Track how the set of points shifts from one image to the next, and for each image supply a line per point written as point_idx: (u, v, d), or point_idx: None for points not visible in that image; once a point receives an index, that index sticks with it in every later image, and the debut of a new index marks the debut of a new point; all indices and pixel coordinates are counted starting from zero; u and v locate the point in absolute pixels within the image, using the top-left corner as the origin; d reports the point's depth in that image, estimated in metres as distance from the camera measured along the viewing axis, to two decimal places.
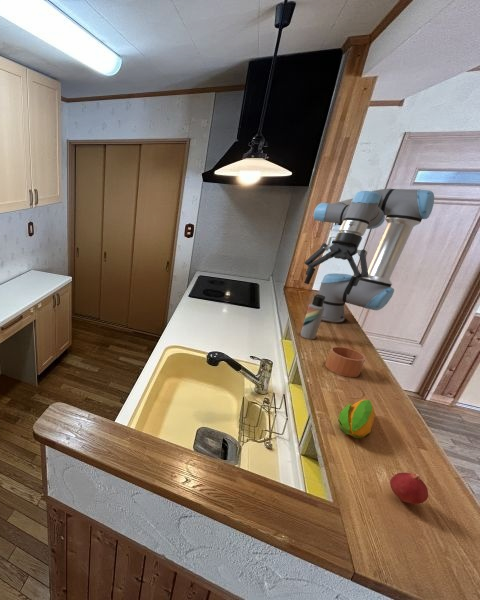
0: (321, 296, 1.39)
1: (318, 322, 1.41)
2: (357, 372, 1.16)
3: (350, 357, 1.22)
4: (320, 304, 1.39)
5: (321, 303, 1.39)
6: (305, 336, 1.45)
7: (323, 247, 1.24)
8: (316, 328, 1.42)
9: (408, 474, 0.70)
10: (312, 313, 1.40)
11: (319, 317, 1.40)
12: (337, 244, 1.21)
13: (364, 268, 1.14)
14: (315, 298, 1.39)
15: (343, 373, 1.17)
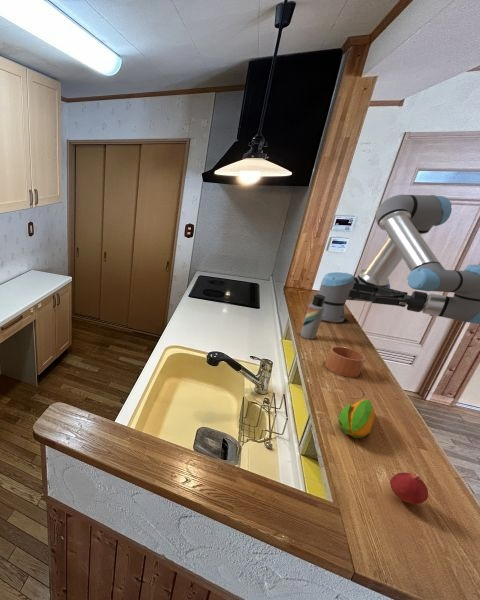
0: (321, 296, 1.39)
1: (318, 322, 1.41)
2: (357, 372, 1.16)
3: (350, 357, 1.22)
4: (320, 304, 1.39)
5: (321, 303, 1.39)
6: (305, 336, 1.45)
7: None
8: (316, 328, 1.42)
9: (408, 474, 0.70)
10: (312, 313, 1.40)
11: (319, 317, 1.40)
12: None
13: None
14: (315, 298, 1.39)
15: (343, 373, 1.17)
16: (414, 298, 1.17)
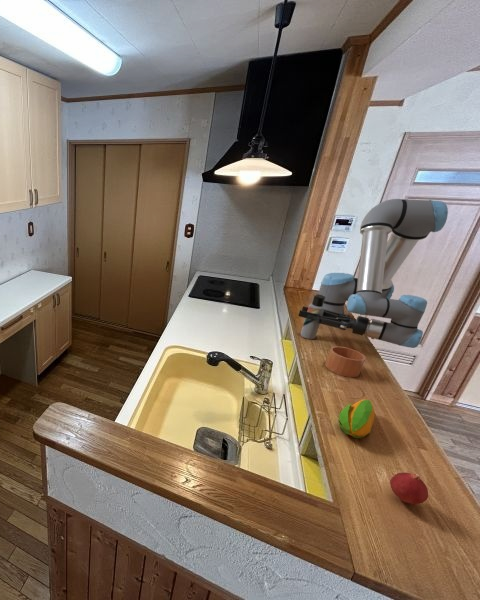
0: (321, 296, 1.39)
1: None
2: (357, 372, 1.16)
3: (350, 357, 1.22)
4: (320, 304, 1.39)
5: (321, 303, 1.39)
6: (305, 336, 1.45)
7: None
8: (316, 328, 1.42)
9: (408, 474, 0.70)
10: None
11: None
12: None
13: None
14: (315, 298, 1.39)
15: (343, 373, 1.17)
16: (357, 323, 1.30)
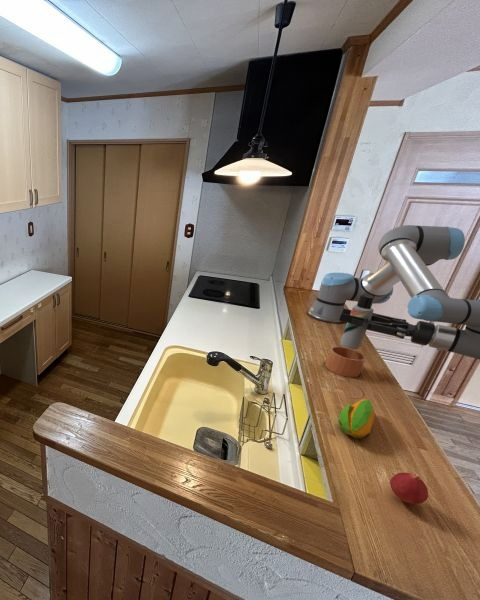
0: (369, 296, 1.11)
1: None
2: (357, 372, 1.16)
3: (350, 357, 1.22)
4: (368, 306, 1.11)
5: (369, 304, 1.10)
6: (347, 345, 1.16)
7: None
8: (362, 336, 1.14)
9: (408, 474, 0.70)
10: None
11: None
12: None
13: None
14: (362, 298, 1.11)
15: (343, 373, 1.17)
16: (419, 329, 1.02)
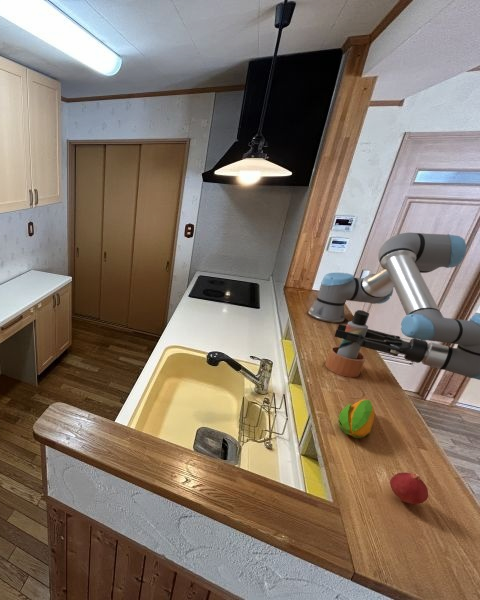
0: (364, 313, 1.13)
1: None
2: (357, 372, 1.16)
3: None
4: (363, 322, 1.13)
5: (364, 321, 1.12)
6: None
7: None
8: (357, 351, 1.16)
9: (408, 474, 0.70)
10: None
11: None
12: None
13: None
14: (356, 315, 1.13)
15: (343, 373, 1.17)
16: (412, 347, 1.04)
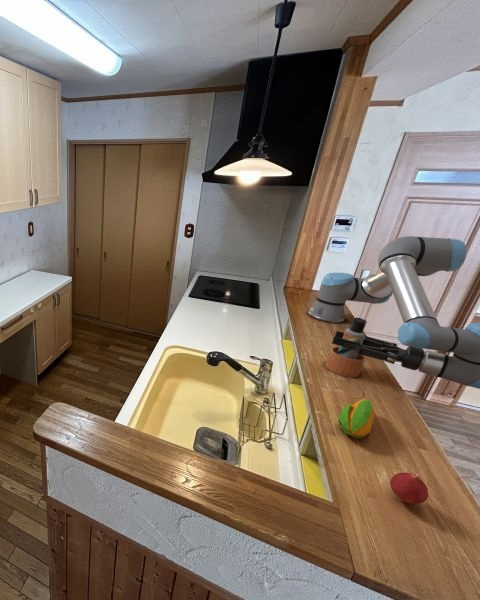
0: (361, 320, 1.14)
1: None
2: (357, 372, 1.16)
3: None
4: (360, 330, 1.13)
5: (361, 329, 1.13)
6: None
7: None
8: (354, 358, 1.17)
9: (408, 474, 0.70)
10: (350, 340, 1.15)
11: None
12: None
13: None
14: (354, 322, 1.14)
15: (343, 373, 1.17)
16: (409, 355, 1.05)
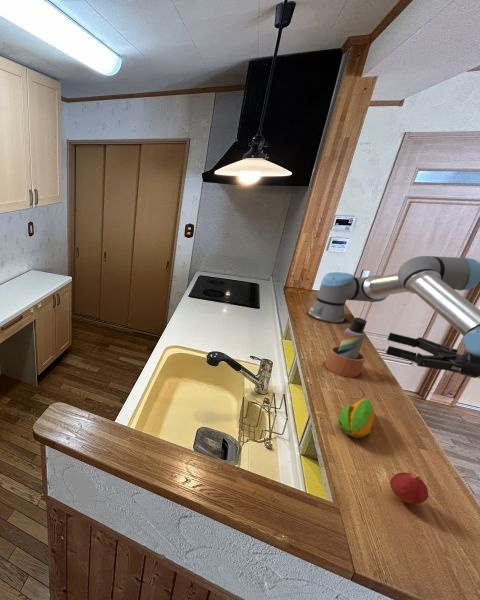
0: (361, 320, 1.14)
1: (358, 351, 1.16)
2: (357, 372, 1.16)
3: None
4: (360, 330, 1.13)
5: (361, 329, 1.13)
6: None
7: None
8: (354, 358, 1.17)
9: (408, 474, 0.70)
10: (350, 340, 1.15)
11: (358, 345, 1.15)
12: None
13: None
14: (354, 322, 1.14)
15: (343, 373, 1.17)
16: (470, 361, 0.96)
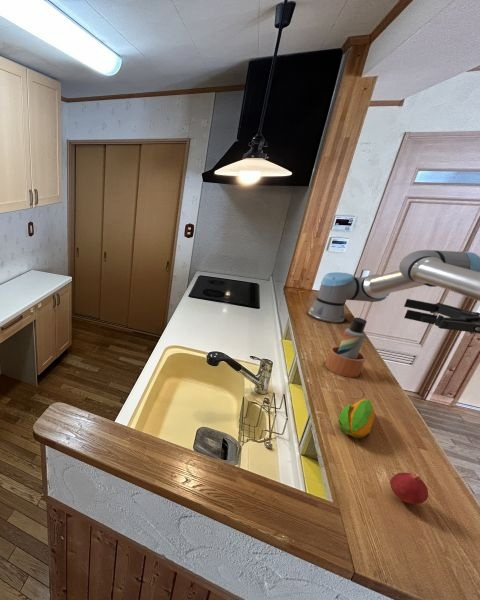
0: (361, 320, 1.14)
1: (358, 351, 1.16)
2: (357, 372, 1.16)
3: None
4: (360, 330, 1.13)
5: (361, 329, 1.13)
6: None
7: None
8: (354, 358, 1.17)
9: (408, 474, 0.70)
10: (350, 340, 1.15)
11: (358, 345, 1.15)
12: None
13: None
14: (354, 322, 1.14)
15: (343, 373, 1.17)
16: None
